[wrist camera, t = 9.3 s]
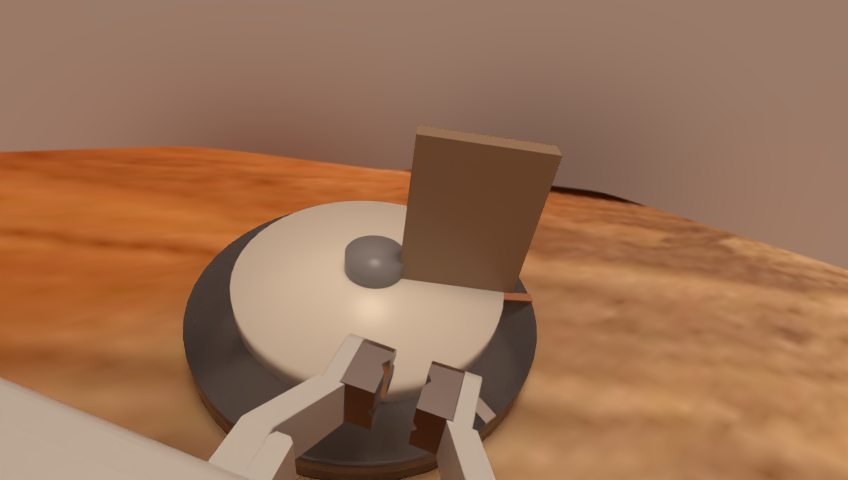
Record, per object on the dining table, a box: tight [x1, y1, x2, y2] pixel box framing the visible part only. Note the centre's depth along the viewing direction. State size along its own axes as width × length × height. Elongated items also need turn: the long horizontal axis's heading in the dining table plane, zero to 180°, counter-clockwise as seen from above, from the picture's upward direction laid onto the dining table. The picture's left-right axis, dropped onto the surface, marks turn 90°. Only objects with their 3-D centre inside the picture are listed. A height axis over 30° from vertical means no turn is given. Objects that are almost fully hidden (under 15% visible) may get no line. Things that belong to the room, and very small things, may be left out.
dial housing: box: [183, 213, 537, 480], centre depth 26 cm, size 21×21×2 cm
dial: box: [230, 125, 562, 403], centre depth 22 cm, size 16×16×10 cm
